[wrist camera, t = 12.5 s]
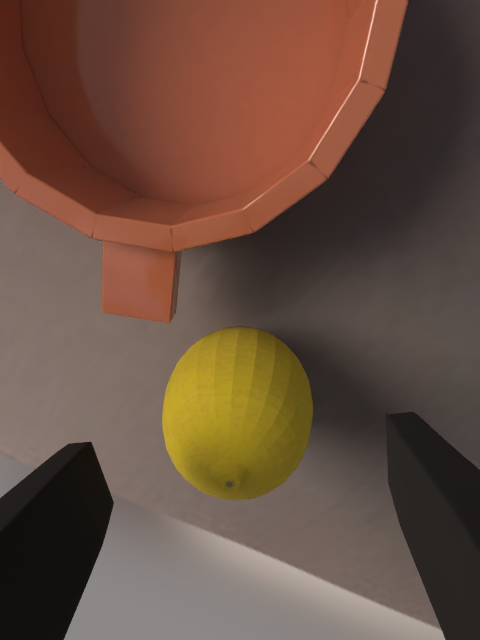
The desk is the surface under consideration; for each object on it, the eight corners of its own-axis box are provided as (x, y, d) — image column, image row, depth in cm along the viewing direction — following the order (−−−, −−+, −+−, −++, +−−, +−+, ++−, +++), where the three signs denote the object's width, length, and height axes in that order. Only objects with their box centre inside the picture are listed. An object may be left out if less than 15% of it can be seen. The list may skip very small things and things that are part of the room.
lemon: (247, 423, 21) (235, 575, 14) (162, 354, 20) (97, 481, 12) (330, 354, 19) (366, 487, 12) (241, 273, 18) (220, 366, 11)
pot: (449, -325, 11) (577, -658, 6) (307, 303, 18) (319, 357, 14) (-21, -397, 11) (-226, -777, 6) (23, 257, 18) (-60, 296, 14)
